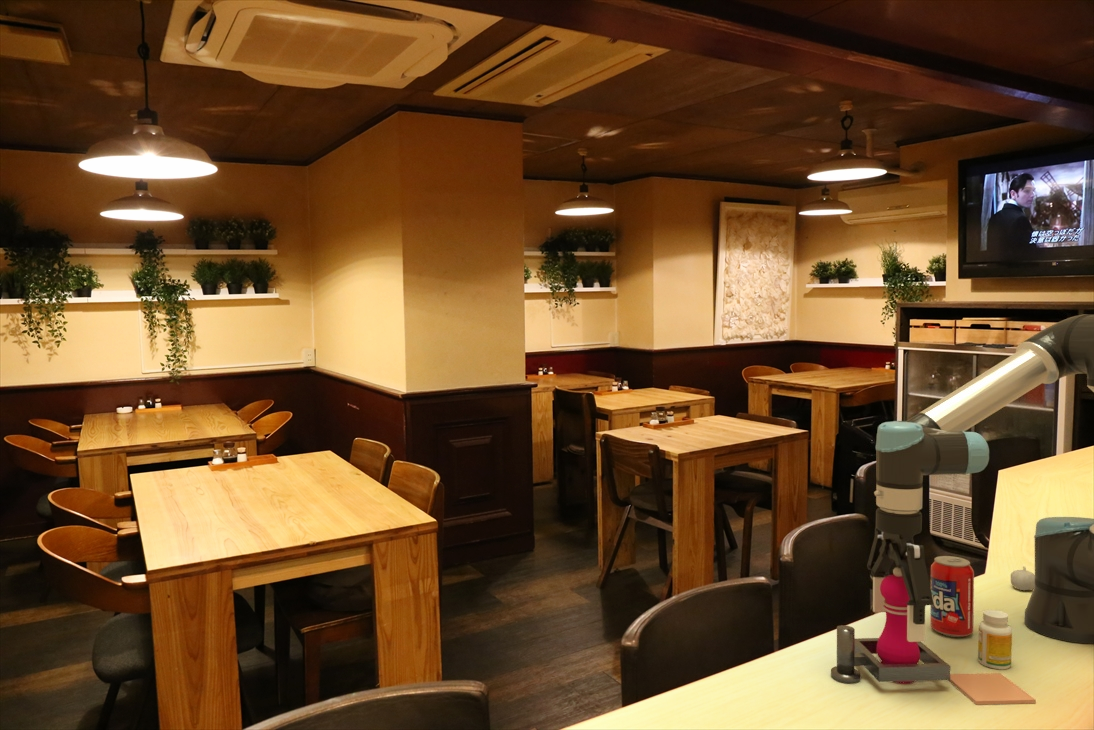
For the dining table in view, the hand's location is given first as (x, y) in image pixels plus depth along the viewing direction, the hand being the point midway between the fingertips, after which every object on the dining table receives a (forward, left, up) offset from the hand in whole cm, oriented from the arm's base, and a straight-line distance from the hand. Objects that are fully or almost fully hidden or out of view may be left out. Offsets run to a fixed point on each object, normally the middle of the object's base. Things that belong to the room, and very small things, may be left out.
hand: (897, 625), depth 140 cm
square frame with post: (+3, 0, -9) cm, 10 cm away
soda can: (-20, -19, -10) cm, 29 cm away
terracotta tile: (-13, +6, -9) cm, 17 cm away
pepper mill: (0, 0, -10) cm, 10 cm away
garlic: (-50, -43, -10) cm, 67 cm away
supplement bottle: (-20, -4, -10) cm, 23 cm away
